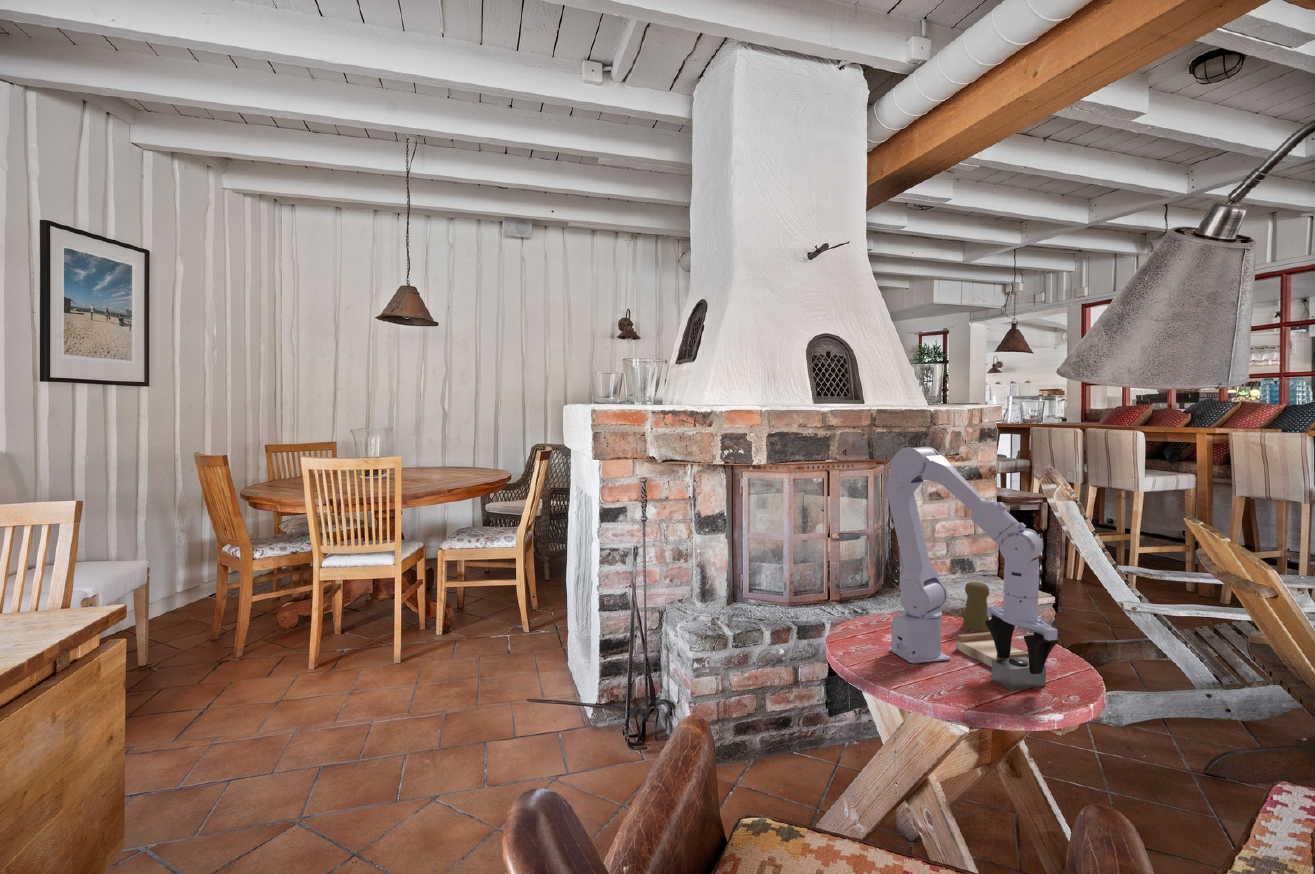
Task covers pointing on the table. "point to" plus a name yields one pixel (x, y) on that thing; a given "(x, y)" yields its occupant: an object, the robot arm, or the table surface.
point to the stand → (983, 647)
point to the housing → (1016, 674)
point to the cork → (976, 607)
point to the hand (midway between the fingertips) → (1019, 665)
